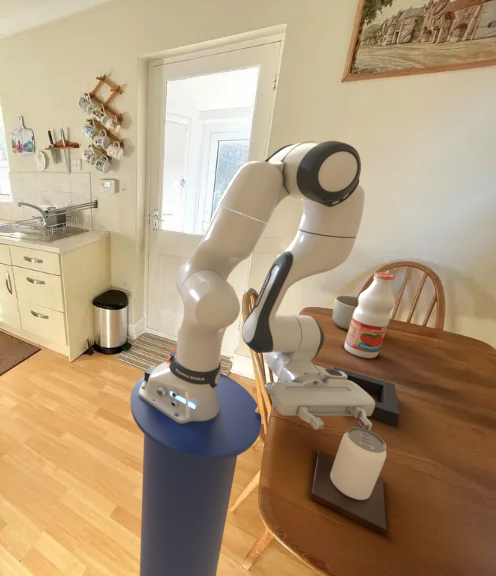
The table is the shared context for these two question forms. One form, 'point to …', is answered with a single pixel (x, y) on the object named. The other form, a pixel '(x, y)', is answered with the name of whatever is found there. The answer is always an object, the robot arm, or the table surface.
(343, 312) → the planter
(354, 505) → the board
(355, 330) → the fruit juice
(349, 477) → the can
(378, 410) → the processor base
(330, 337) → the table surface
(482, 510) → the table surface
